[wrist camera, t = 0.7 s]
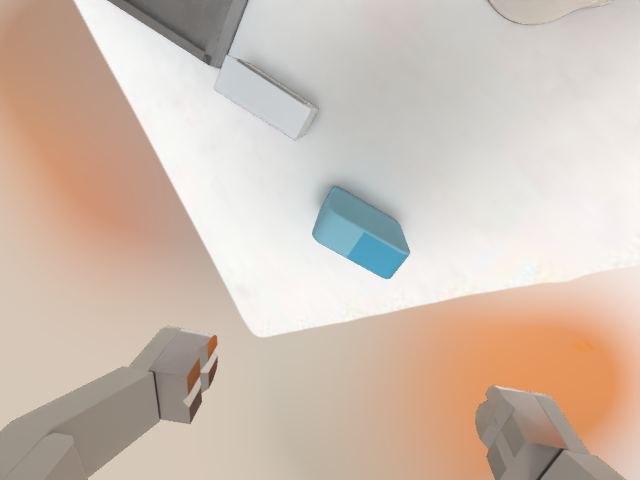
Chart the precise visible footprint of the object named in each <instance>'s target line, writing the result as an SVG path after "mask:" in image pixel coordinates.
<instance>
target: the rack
mask: <svg viewBox="0 0 640 480" xmlns="http://www.w3.org/2000/svg"><path fill="white" fill-rule="evenodd" d="M108 1H109V2H111V3H113V4H114V5H116V6H117V7H119V8H120V9H122V10H124V11H125V12H127V13H128V14H130V15H131V16H133V17H134V18H136V19H138V20H139V21H141V22H142V23H144V24H145V25H147V26H149V27H150V28H152V29H153V30H155V31H156V32H158V33H159V34H161V35H163V36H164V37H166V38H167V39H169V40H170V41H172V42H174V43H175V44H177V45H178V46H180V47H181V48H183V49H184V50H186V51H188V52H189V53H191V54H192V55H194V56H195V57H197V58H199V59H200V60H202V61H203V62H205V63H206V64H208V65H210V66H213V67H217V68H222V65H223V62H224V60H225V57H226V55H228V52H229V50H230V47H231V44H232V42H233V39H234V37H235V34H236V31H237V29H238V26H239V23H240V21H241V18H242V16H243V13H244V10H245V8H246V5H247V3H248V0H108Z"/></svg>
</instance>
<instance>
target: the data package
mask: <svg viewBox="0 0 640 480" xmlns="http://www.w3.org/2000/svg"><path fill="white" fill-rule="evenodd" d="M312 235H313V237H314V238H315V240H316V241H318V242H319V243H320V244H322V245H324V246H326V247H327V248H329V249H331V250H333V251H335V252H337V253H338V254H340V255H342V256H344V257H346V258H347V259H349V260H351V261H353V262H355V263H357V264H358V265H360V266H362V267H364V268H366V269H367V270H369V271H371V272H373V273H375V274H377V275H378V276H380V277H382V278H385V279H390V278H391V277H392V276H393V274H394V273H395V272H396V271H397V269H398V268H399V267H400V266H401V264H402V263H403V262H404V261H405V259H406V258H407V257H408V256H409V254H410V250H409V248H408V245H407V242H406V240H405V237H404V234H403V232H402V229H401V226H400V225H399V223H398V222H397V221H395V220H394V219H392V218H391V217H389V216H387V215H386V214H384V213H382V212H380V211H379V210H377V209H375V208H374V207H372V206H370V205H368V204H367V203H365V202H363V201H361V200H360V199H358V198H356V197H355V196H353V195H351V194H349V193H348V192H346V191H344V190H342V189H340V188H338V187H334V188H333V189H332V190H331V192H330V194H329V195H328V197H327V199H326V200H325V202H324V204H323V206H322V207H321V209H320V211H319V214H318V217H317V220H316V223H315V226H314V229H313V232H312Z"/></svg>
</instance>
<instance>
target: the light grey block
mask: <svg viewBox="0 0 640 480" xmlns="http://www.w3.org/2000/svg"><path fill="white" fill-rule="evenodd" d="M214 90H215V91H217V92H219V93H220V94H222V95H223V96H225V97H226V98H228V99H230V100H231V101H233V102H234V103H236V104H238V105H239V106H241V107H242V108H244V109H246V110H247V111H249V112H250V113H252V114H253V115H255V116H257V117H258V118H260V119H261V120H263V121H265V122H266V123H268V124H269V125H271V126H273V127H274V128H276V129H277V130H279V131H280V132H282V133H284V134H285V135H287V136H288V137H290V138H292V139H293V140H297V139H298V138H300V137H302V136H303V135H305V134H306V132H307V130H308V128H309V126H310V124H311V122H312V121H313V119H314V117H315V115H316V113H317V111H318V108H317V107H315V106H314V105H312V104H311V103H309V102H308V101H306V100H305V99H303V98H302V97H300V96H298V95H297V94H295V93H294V92H292V91H291V90H289V89H288V88H286V87H285V86H283V85H282V84H280V83H279V82H277V81H275V80H274V79H272V78H271V77H269V76H268V75H266V74H265V73H263V72H262V71H260V70H259V69H257V68H256V67H254V66H253V65H251V64H249V63H247V62H244V61H242V60H240V59H237V58H234V57H231V56H229V55H226V57H225V60H224V62H223V65H222V68H221V70H220V73H219V76H218V78H217V81H216V83H215V86H214Z"/></svg>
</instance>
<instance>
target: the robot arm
mask: <svg viewBox="0 0 640 480" xmlns="http://www.w3.org/2000/svg"><path fill="white" fill-rule="evenodd" d="M489 1H490V2H491V4H492V5H493V7H494V8H495V9H496V10H497V11H498V12H499V13H500V14H501V15H503V16H504V17H505V18H507V19H509V20H511V21H514V22H517V23H521V24H529V25H533V24H542V23H547V22H550V21H553V20H556V19H558V18H561V17H563V16H565V15H567V14H569V13H571V12H573V11H575V10H577V9H580V8H588V7H598V6H603V5H606V4H608V3H610V2H611V1H613V0H489ZM216 346H217V336H216V335H213V334H209V333H204V332H199V331H194V330H189V329H185V328H178V327H174V326H169V325H167V326H165V327H163V328H162V329H161V330H160V331H159V332H158V333H157V334H156V336H155V337H154V338H153V339H152V340H151V341H150V343H149V344H148V345H147V346H146V347H145V348H144V350H143V351H142V352H141V353H140V354H139V355H138V356H137V358H136V359H135V360H134V361H133V362H132V363H131V365H130V366H129V367H121V368H119V369H117V370H115V371H113V372H111V373H109V374H107V375H105V376H102V377H101V378H98V379H96V380H95V381H92V382H90V383H88V384H86V385H84V386H82V387H80V388H78V389H76V390H74V391H72V392H70V393H68V394H66V395H64V396H62V397H60V398H58V399H56V400H54V401H52V402H50V403H47V404H46V405H43V406H41V407H39V408H37V409H36V410H33V411H31V412H29V413H27V414H25V415H23V416H21V417H19V418H17V419H15V420H13V421H11V422H10V423H9V424H8V425H7V426H6V427H5V428H3V429H2V430H1V431H0V480H88V479H87V478H88V477H90V476H91V475H92V474H94V473H95V472H96V471H97V470H99V469H100V468H101V467H102V466H104V465H105V464H106V463H107V462H109V461H110V460H111V459H113V458H114V457H115V456H116V455H118V454H119V453H120V452H121V451H123V450H124V449H125V448H127V447H128V446H129V445H130V444H132V443H133V442H134V441H135V440H137V439H138V438H139V437H140V436H142V435H143V434H144V433H145V432H147V431H148V430H149V429H150V428H152V427H153V426H154V425H156V424H157V423H158V422H159V421H160V419H162V420H168V421H174V422H180V423H186V424H191V422H192V420H193V418H194V416H195V414H196V412H197V410H198V408H199V406H200V405H201V402H202V396H201V393H203V392H204V391H205V390H207V389H208V388H209V387H210V385H211V383H212V381H213V378H214V375H215V372H216V369H217V362H218V361H217V360H218V359H217V358H218V356H217V354H216V353H215V352H214V350H215V348H216ZM486 396H487V399H488V400H487V401H485V402H483V403H481V404H480V405H479V407H478V409H477V412H476V421H475V422H476V428H477V432H478V435H479V438H480V440H481V441H482V442H483V443H484V444H485V445H486V447H487V448H488V449H489V451H488V454H487V459H488V462H489V464H490V467H491V470H492V473H493V475H494V478H495V480H626V479H625V478H624V477H622V476H621V475H620V474H619V473H617V472H616V471H615V470H614V469H613V468H611V467H610V466H609V465H607V464H606V463H605V462H604V461H603V460H601V459H600V458H599V457H598V456H595V455H591V454H590V452H589V451H588V449H587V448H586V446H585V445H584V443H583V442H582V440H581V439H580V438H579V436H578V435H577V433H576V432H575V430H574V429H573V427H572V426H571V424H570V423H569V421H568V420H567V418H566V417H565V415H564V414H563V412H562V411H561V409H560V408H559V406H558V405H557V404H556V402H555V401H554V399H553V398H552V397H550V396H549V395H547V394H541V393H535V392H530V391H529V392H528V391H524V390H518V389H512V388H506V387H500V386H495V385H493V386H491V387H489V388H488V390H487V392H486Z"/></svg>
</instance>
